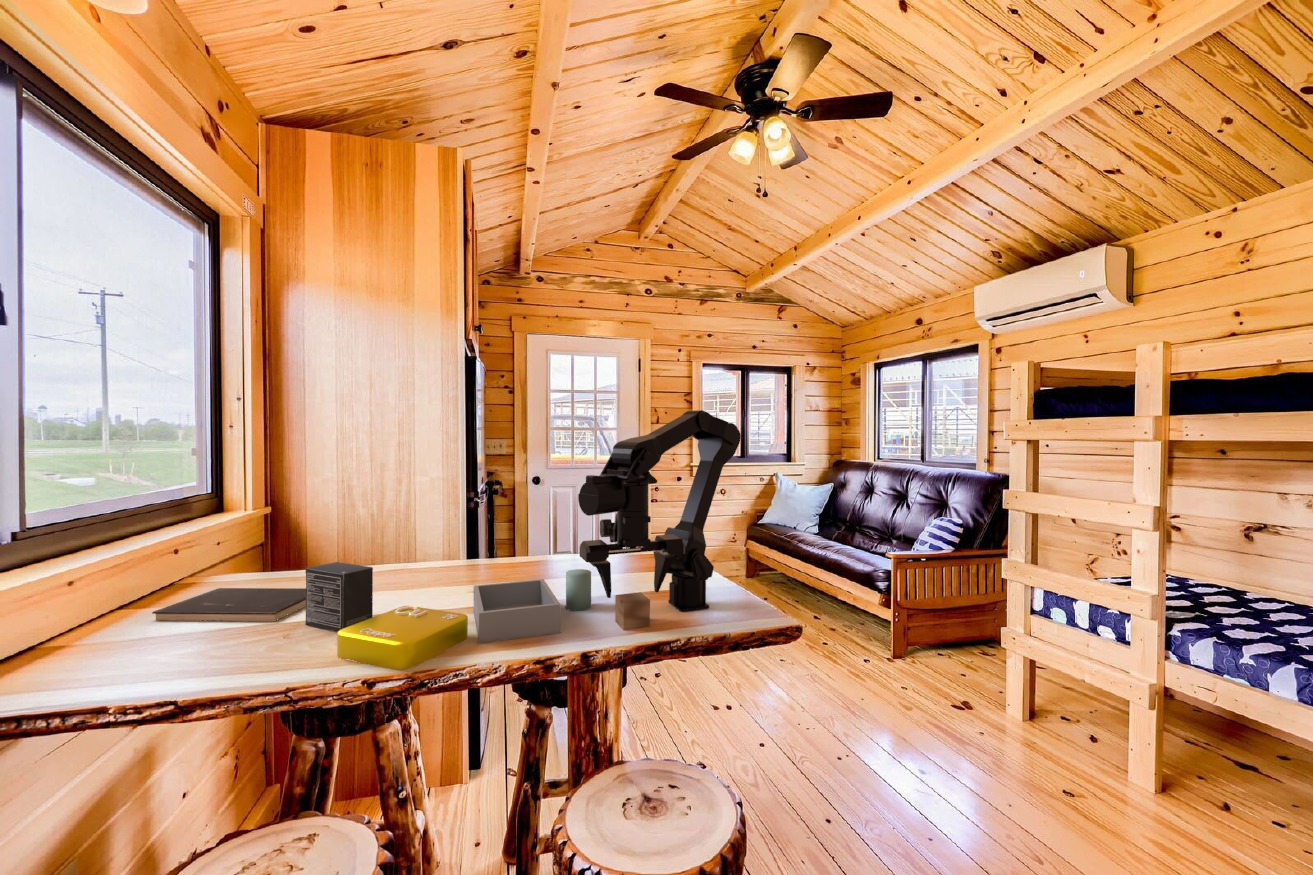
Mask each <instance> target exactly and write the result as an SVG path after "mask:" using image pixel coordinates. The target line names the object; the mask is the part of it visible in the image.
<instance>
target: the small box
mask: <svg viewBox="0 0 1313 875" xmlns="http://www.w3.org/2000/svg"><path fill="white" fill-rule="evenodd" d="M373 570H374V568H373V566H366V565H359V564H352V563H345V562H337V561H335V562H330V563H325V564H320V565H314V566H309V567H306V568H305V588H306V606H305V625H306V626H309V627H313V628H319V629H324V630H328V631H333V632H336V633H338V631H339V630H341V629H343V628H346V627H348V626H351V625H354V624H356V623H359V622H362V621H365V620H367V619H370V618H373V617H374V616H373V606H374V605H373V602H374V601H373V595H374V594H373V593H374V590H373V589H374V588H373V587H374V586H373V584H374V583H373V579H374V578H373V575H374V574H373Z"/></svg>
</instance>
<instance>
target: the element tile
mask: <svg viewBox="0 0 1313 875" xmlns="http://www.w3.org/2000/svg"><path fill="white" fill-rule="evenodd" d="M468 620H469V618H468V615H467V614H465V613H461V612H455V611H454V612H453V611H446V610H440V609H434V608H429V607H428V608H427V607H420V606H415V605H402V606H400V607H398V608H397V607H396V608H394V609H392V610H389V611H386V612H384V613H381V614H379V615H376V616H373V618H370V619H367V620H365V621H362V622H359V623H356V624H354V625H351V626H348V627H346V628H343V629H341V630H339V631H338V632H336V633H337V635H336V636H337V637H336V640H337V641H336V643H337V645H336V646H337V648H336V650H337V651H336V654H337V656H338V657H337V656H336V657H337V658H338V659H340V658H341V659H340V660H343V659H350V660H354V661H357V662H356V663H358V662H360V664H363V663H364V665H368V664H369V666H374V667H378V668H384V669H388V668H389V670H393V671H394V670H395V671H405V670H410V669H413V668H415V667H418V666H419V665H421V664H423V663H425V662H427V661H430V660H431V659H433V658H436V657H437V656H439V655H441V654H443V653H445V652H447V651H449V650H451V649H452V648H454V647H456V646H458V645H460V644H462V643H464V642H465V641H467V639H469V636H468V628H469V627H468V625H469V623H468Z"/></svg>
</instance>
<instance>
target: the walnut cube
mask: <svg viewBox="0 0 1313 875" xmlns="http://www.w3.org/2000/svg"><path fill="white" fill-rule="evenodd" d="M614 596H615V600H614V601H615V604H614V605H615V607H614V609H615V612H614V613H615V614H614V615H615V618H614V621H615V623H616V624H617V625H618V626H619V627H620V628H621V630H622V631H628V630H629V631H630V630H637V629H645V628H650V627H651V600H650V599H649V598H648V597H647V596H646V595H645V594H644V593H642V592H640V591H639V592H631V593H623V594H615V595H614Z"/></svg>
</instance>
